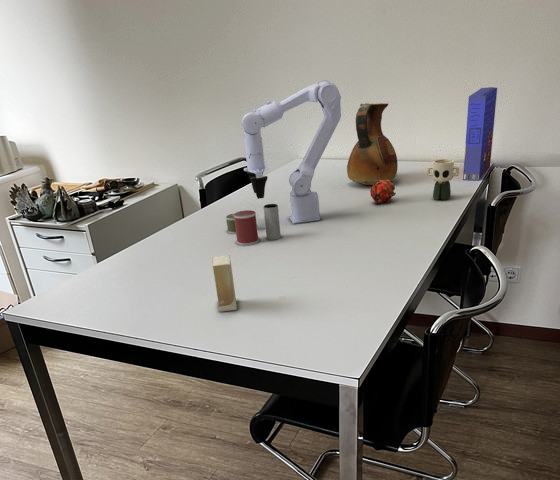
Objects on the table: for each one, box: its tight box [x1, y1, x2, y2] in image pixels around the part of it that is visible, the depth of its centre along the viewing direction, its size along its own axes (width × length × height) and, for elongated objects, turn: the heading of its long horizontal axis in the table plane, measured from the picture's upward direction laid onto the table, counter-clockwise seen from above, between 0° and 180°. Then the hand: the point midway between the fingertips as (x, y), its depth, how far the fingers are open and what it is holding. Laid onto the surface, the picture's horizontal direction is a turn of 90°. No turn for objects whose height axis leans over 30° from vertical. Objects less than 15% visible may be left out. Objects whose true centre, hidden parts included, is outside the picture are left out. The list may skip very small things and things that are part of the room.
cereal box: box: [462, 86, 498, 181], centre depth 229 cm, size 22×6×30 cm, turn 152°
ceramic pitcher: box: [346, 102, 399, 186], centre depth 230 cm, size 20×20×30 cm
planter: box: [263, 203, 282, 241], centre depth 188 cm, size 4×4×10 cm
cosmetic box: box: [211, 254, 238, 313], centre depth 145 cm, size 6×4×12 cm
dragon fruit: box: [369, 179, 396, 205], centre depth 212 cm, size 8×8×12 cm
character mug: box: [426, 158, 460, 200], centre depth 208 cm, size 11×7×13 cm, turn 66°
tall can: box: [234, 209, 260, 246], centre depth 187 cm, size 7×7×9 cm
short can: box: [225, 212, 236, 235], centre depth 199 cm, size 7×7×5 cm
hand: (259, 195), depth 199 cm, fingers open, 7 cm apart
